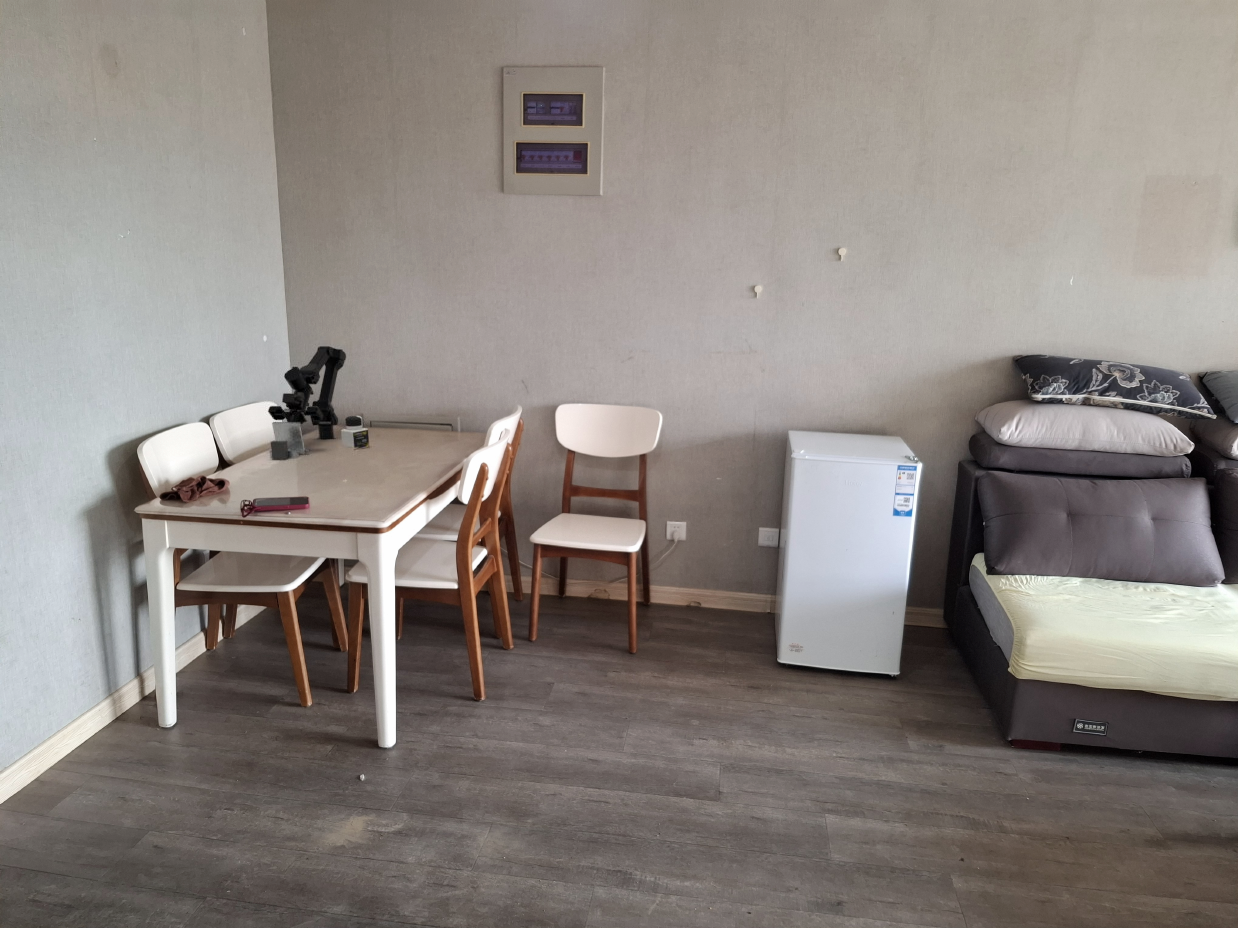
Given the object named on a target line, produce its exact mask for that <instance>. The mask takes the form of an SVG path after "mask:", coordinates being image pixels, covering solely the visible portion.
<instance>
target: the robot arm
mask: <svg viewBox="0 0 1238 928" xmlns="http://www.w3.org/2000/svg"><path fill="white" fill-rule="evenodd" d="M316 350H317V351H316V352H315V353H314V355H313V357H312V358H311V359H310V361H309V362H308V363H307V364H306V365H304V366H302V367H299V366H292V367H291V369H288V370H287V371H286V372H285V373H284V376H283V377H284V380H285V381H286V382H287V384H288V385H289V386H290V388H291V389H292V390H294V391H293V392H291V393H288V392H286V393H285V392H284V393H282V401H281V402H282V403H283V404H285V407H286V408H283V407H282V406H281V405H270V406H269V407H268V410H267V412H268V414H269V416H271V418H272V419H273V420H275V421H283V420H286V422H300V424H301V425H302V424H304V423H306V422H307V421H308V420H307V418H308V417H310V420H311V424H312V426H317V429H318V431H317V432H318V437H317V438H316V439H317V440H326V441H327V440H337V438H336V437H335V433H334V432H335V431H334V426H338V425H339V418H338V416H337V415H336V413H335V407H334V406H333V403H332V401H333V397H334V392H335V386H336V383H337V382H336V381H337V376H338V372H339V371H340V370H341V369H342V368H343V367H344V364H345V362H346V358H347V354H346V352H345V351H344V350H343V349H342V348H334V347H332V346H328V345H325V346H324V345H322V346H321V345H320V346H318V347H317V349H316ZM323 367H325V368H324V373H323V378H322V381H321V382H322V384H321V388H320V390H319V391H320V392H319V396H318V399H317V400H313V402H312V405H311V406H310V403H309V401H310V398H311V395H315V393H314V389H313V387H312V386H311V385H317V384H318V383H319V380H320V378H321V374H320V372H321V370H322V369H323Z"/></svg>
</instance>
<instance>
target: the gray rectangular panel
mask: <svg viewBox="0 0 1238 928" xmlns="http://www.w3.org/2000/svg"><path fill="white" fill-rule="evenodd" d="M271 425H272V430H273V435H274V441H287V447H288V449H298V455H305V452H304V450H306V448H305V444H304V438H303V434H302V428H301V426H302V424H300V422H287V421H273V422H271Z"/></svg>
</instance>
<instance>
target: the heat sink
mask: <svg viewBox="0 0 1238 928" xmlns="http://www.w3.org/2000/svg"><path fill="white" fill-rule="evenodd" d="M304 452H305V454H304V455H307V456H308V455H310V450H309V449H305V450H304ZM299 455H300V454H298V449H288V447H287V441H275V440H272V441H270V450H269V456H270V459H272V461H288V460H289V459H297V458H299Z"/></svg>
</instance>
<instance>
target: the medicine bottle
mask: <svg viewBox="0 0 1238 928" xmlns="http://www.w3.org/2000/svg"><path fill="white" fill-rule="evenodd" d="M340 435H341V442H342V443H341V445H342V446H343V447H347V448H348V447H349V448H353V450H354V451H356V450H361V449H365V448H370V439H369V429H368V428H365V427H363V417H361V416H360V415H351V416H347V417H346V418H345V428H344V429H341V434H340Z"/></svg>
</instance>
